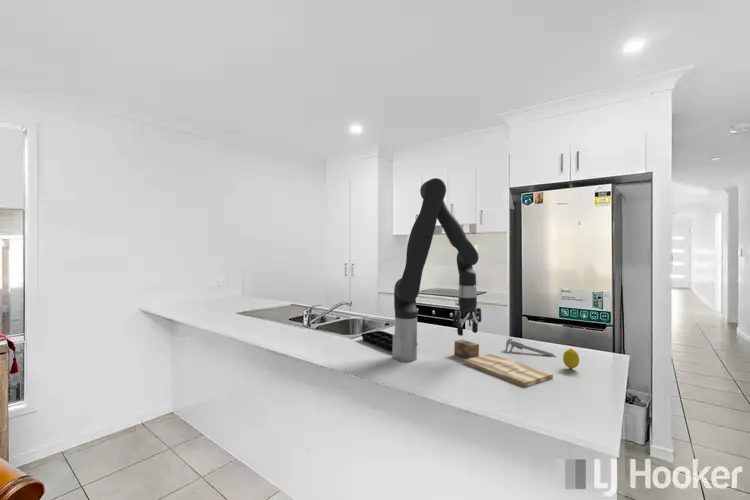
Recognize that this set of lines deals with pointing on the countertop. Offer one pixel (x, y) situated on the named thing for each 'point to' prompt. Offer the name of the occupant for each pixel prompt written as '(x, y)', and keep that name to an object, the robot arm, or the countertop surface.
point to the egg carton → (379, 339)
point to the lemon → (571, 358)
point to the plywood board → (508, 370)
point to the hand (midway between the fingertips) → (467, 333)
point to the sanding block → (466, 349)
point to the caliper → (526, 347)
